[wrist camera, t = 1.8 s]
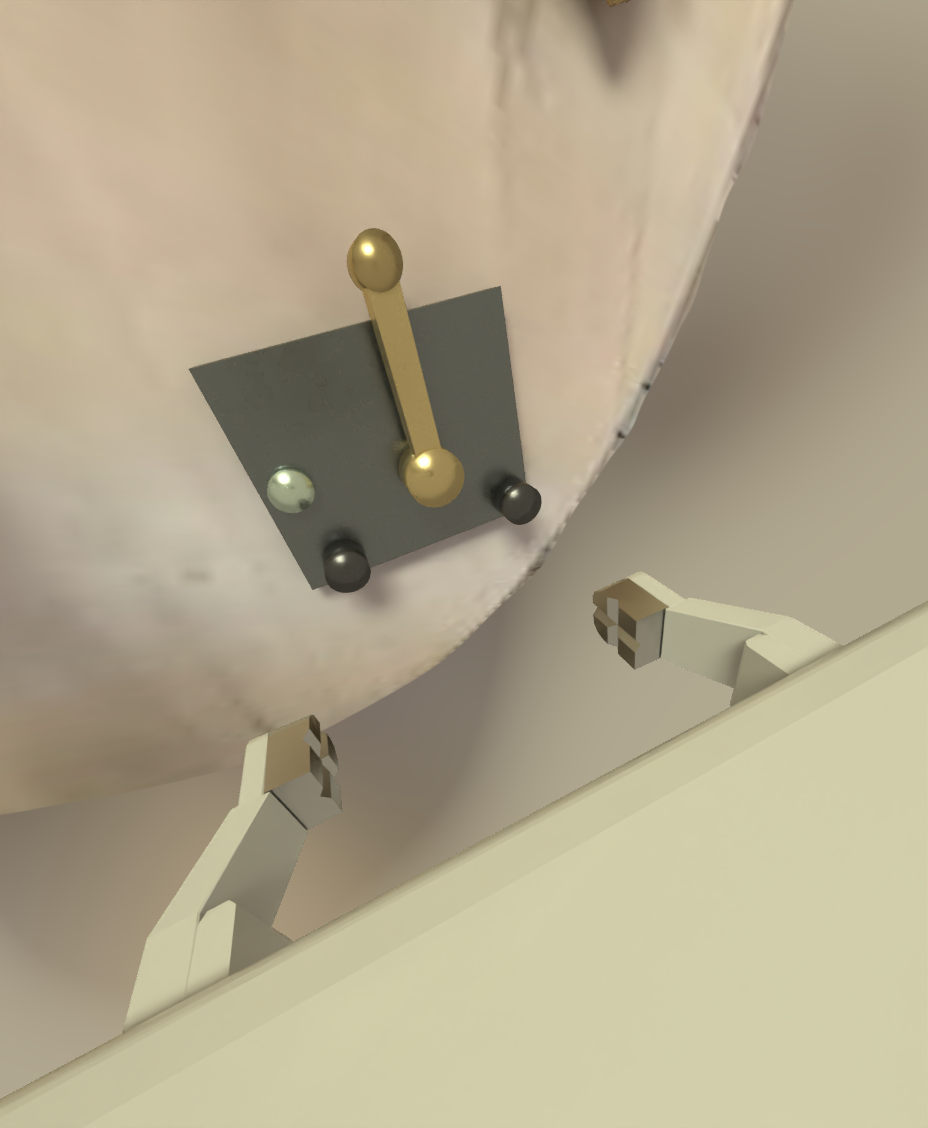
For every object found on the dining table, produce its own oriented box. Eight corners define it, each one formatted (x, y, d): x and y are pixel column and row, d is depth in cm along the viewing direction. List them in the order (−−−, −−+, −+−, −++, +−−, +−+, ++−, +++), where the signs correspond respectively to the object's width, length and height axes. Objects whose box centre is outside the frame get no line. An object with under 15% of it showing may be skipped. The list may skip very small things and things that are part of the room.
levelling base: (194, 366, 29) (178, 372, 25) (490, 288, 33) (518, 282, 29) (311, 579, 40) (314, 607, 36) (520, 499, 44) (543, 516, 40)
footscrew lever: (455, 483, 38) (469, 496, 35) (407, 501, 37) (417, 515, 34) (395, 231, 27) (408, 219, 24) (324, 247, 26) (329, 237, 23)
